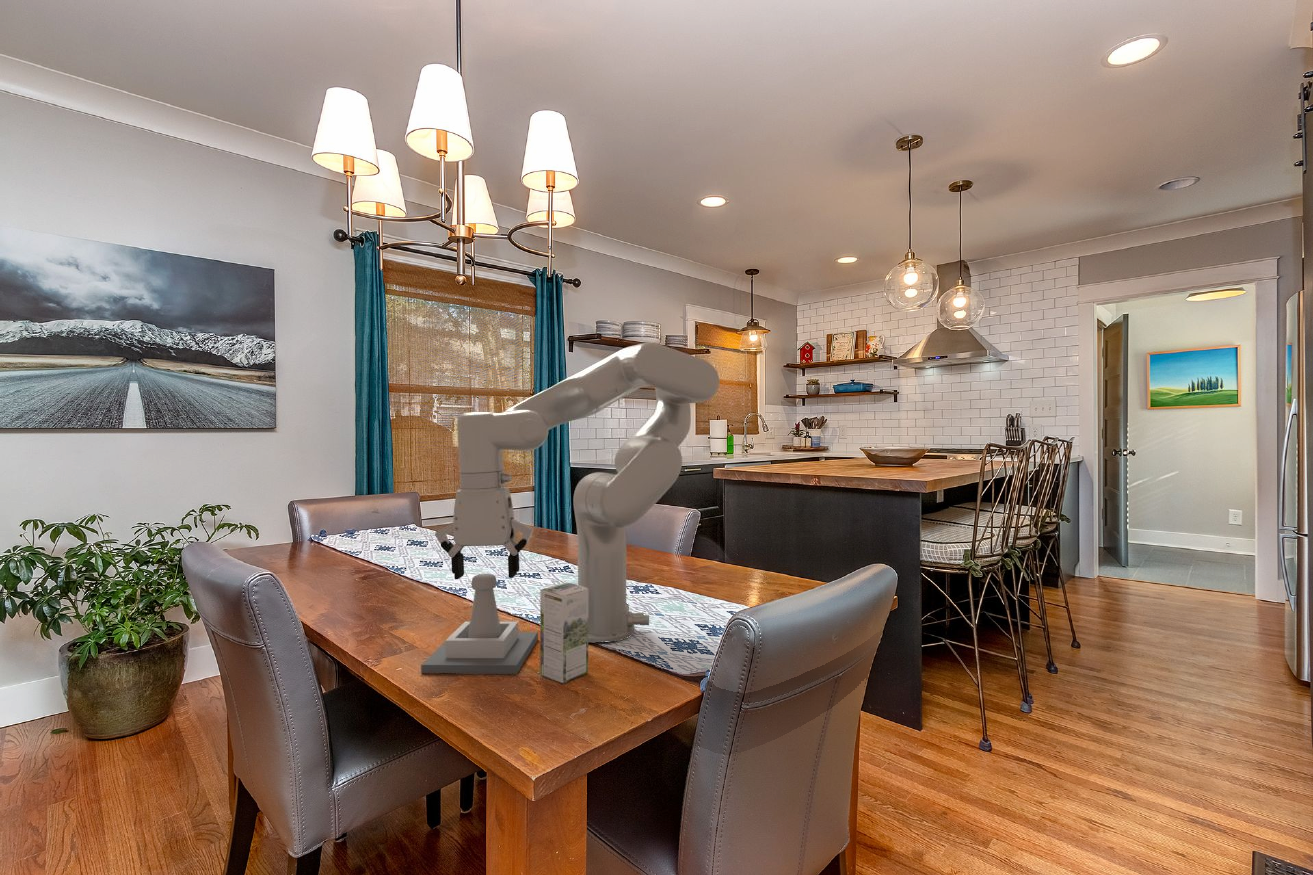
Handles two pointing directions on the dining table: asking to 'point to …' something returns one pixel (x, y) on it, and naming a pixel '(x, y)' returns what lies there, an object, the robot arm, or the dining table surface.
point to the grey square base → (482, 652)
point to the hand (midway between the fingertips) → (486, 576)
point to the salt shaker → (484, 608)
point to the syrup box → (564, 632)
